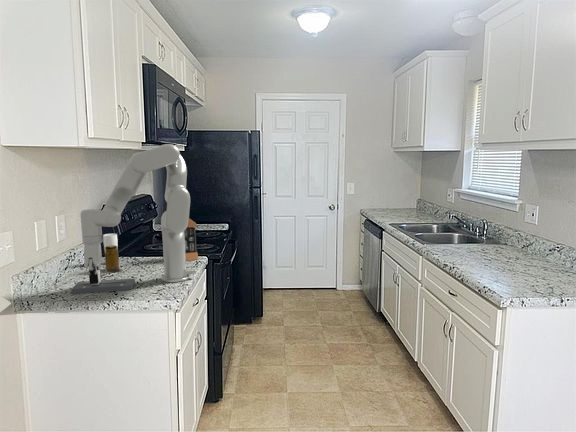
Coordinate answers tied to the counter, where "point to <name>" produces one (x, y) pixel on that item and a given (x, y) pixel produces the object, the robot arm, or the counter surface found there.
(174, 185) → the robot arm
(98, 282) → the fader knob
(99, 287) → the fader panel
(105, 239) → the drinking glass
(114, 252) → the condiment
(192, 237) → the whiskey bottle
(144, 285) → the counter surface
